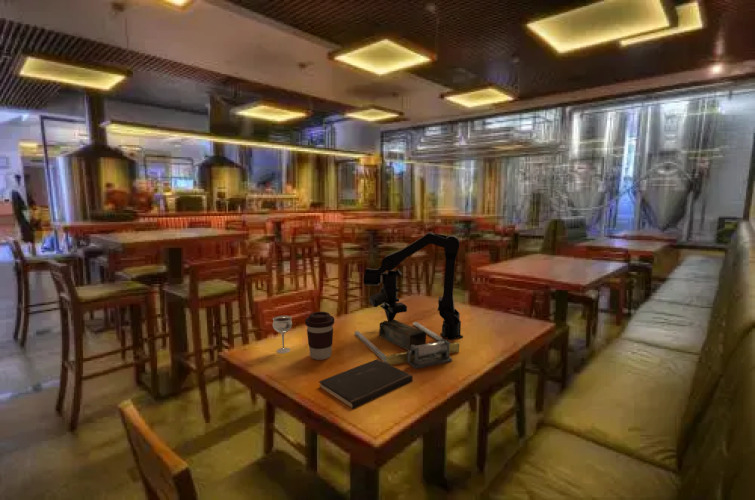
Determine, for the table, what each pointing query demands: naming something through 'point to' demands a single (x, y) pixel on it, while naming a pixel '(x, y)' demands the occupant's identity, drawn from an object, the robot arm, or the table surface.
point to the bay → (402, 356)
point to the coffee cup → (320, 334)
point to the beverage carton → (401, 334)
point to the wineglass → (282, 329)
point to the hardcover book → (365, 382)
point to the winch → (428, 354)
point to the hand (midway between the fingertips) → (390, 323)
